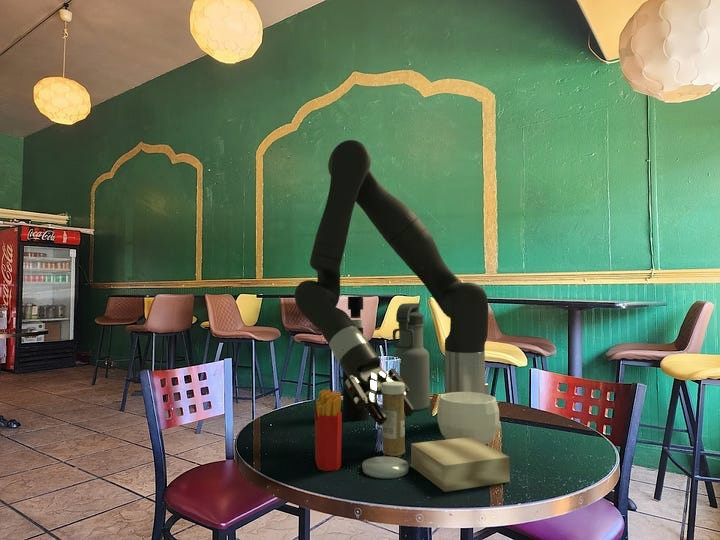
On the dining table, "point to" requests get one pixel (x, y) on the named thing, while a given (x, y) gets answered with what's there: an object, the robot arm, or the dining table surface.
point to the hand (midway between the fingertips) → (397, 418)
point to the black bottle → (348, 406)
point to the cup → (468, 416)
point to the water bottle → (413, 355)
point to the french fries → (328, 430)
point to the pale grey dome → (385, 467)
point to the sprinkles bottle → (393, 418)
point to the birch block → (460, 463)
